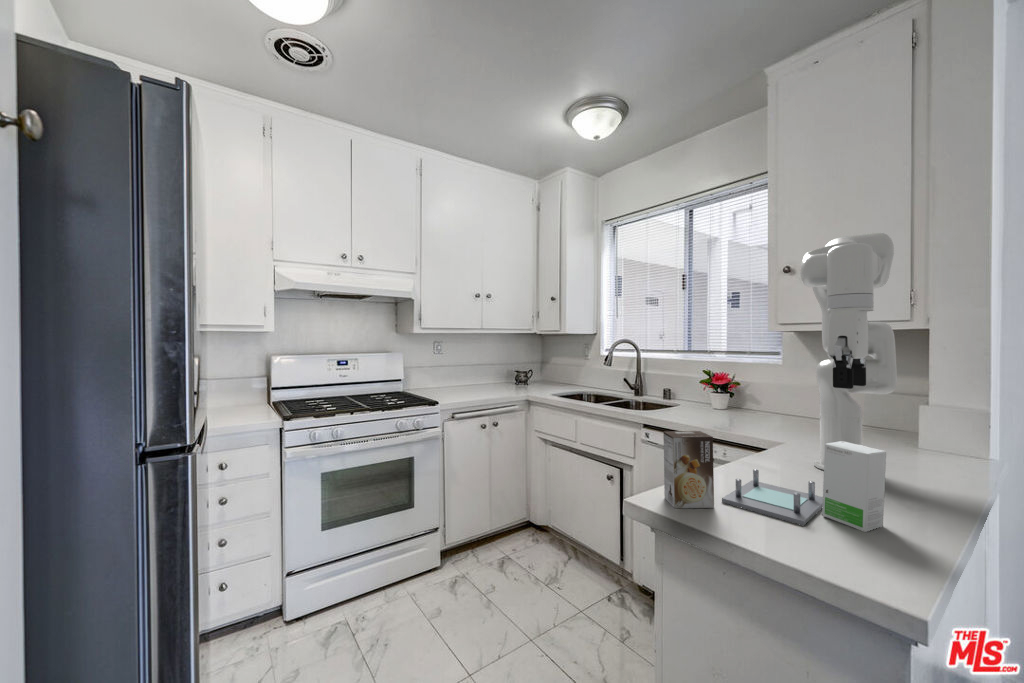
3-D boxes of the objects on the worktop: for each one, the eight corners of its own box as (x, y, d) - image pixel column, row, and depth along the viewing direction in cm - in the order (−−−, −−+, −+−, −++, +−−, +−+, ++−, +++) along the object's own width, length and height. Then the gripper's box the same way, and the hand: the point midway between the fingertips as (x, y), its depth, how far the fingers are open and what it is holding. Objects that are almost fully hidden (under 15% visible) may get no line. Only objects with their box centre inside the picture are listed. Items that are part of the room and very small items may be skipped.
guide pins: (754, 484, 104) (754, 468, 104) (815, 499, 94) (815, 482, 94) (734, 496, 96) (734, 479, 96) (799, 514, 87) (799, 495, 87)
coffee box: (701, 497, 99) (701, 430, 99) (714, 508, 92) (714, 436, 92) (663, 497, 99) (662, 430, 99) (673, 509, 92) (673, 437, 92)
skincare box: (821, 516, 88) (821, 443, 88) (840, 511, 91) (840, 439, 90) (868, 533, 80) (868, 453, 80) (887, 527, 83) (887, 449, 83)
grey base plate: (752, 484, 107) (751, 479, 107) (827, 502, 95) (827, 497, 95) (721, 502, 96) (721, 497, 96) (803, 526, 83) (803, 520, 83)
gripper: (839, 308, 95) (839, 383, 94) (814, 303, 84) (814, 387, 84) (883, 306, 89) (883, 386, 89) (861, 300, 78) (862, 391, 78)
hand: (849, 386), depth 86 cm, fingers open, 9 cm apart
